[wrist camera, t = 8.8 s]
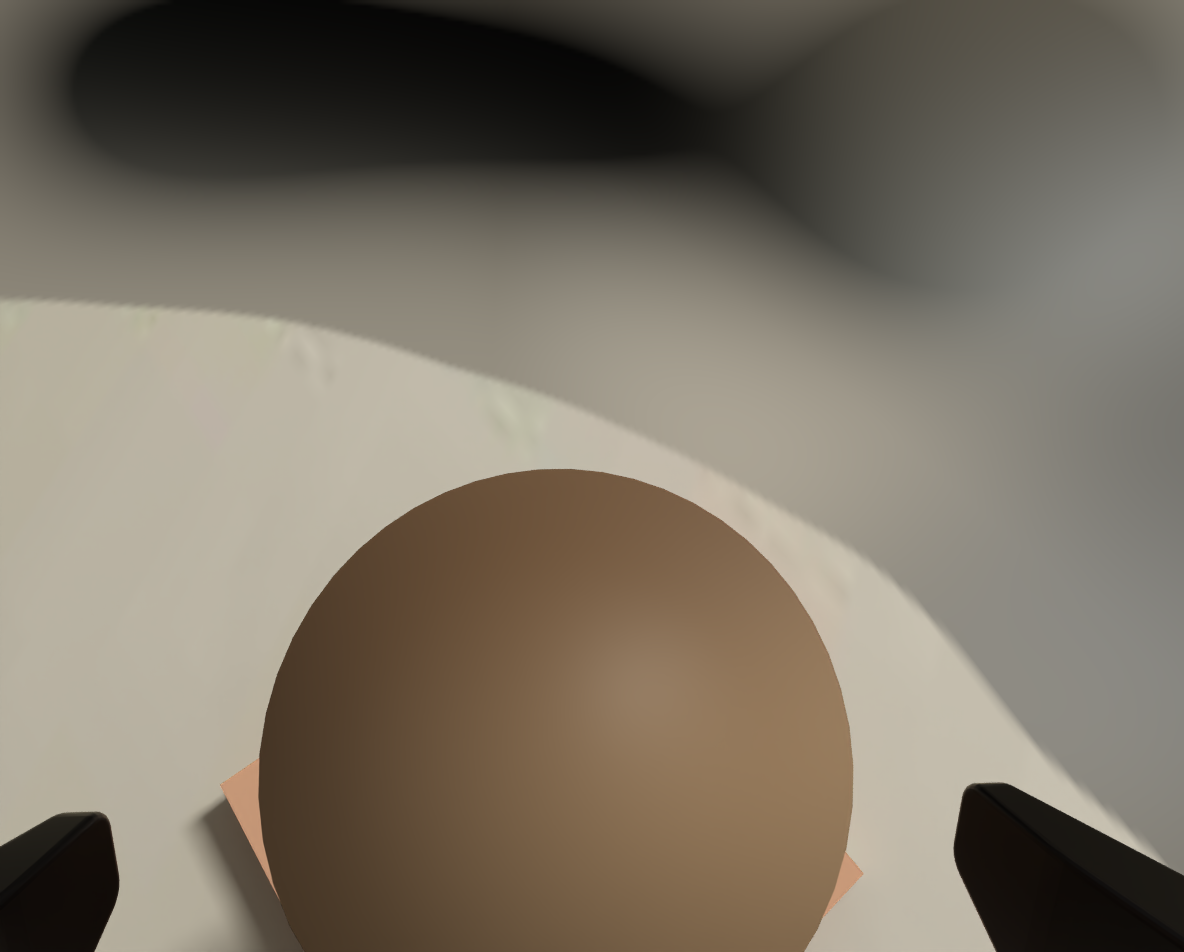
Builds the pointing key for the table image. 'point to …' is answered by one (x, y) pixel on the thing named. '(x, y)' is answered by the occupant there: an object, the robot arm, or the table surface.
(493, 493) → the tamper
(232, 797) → the tile rest
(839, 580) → the table surface
